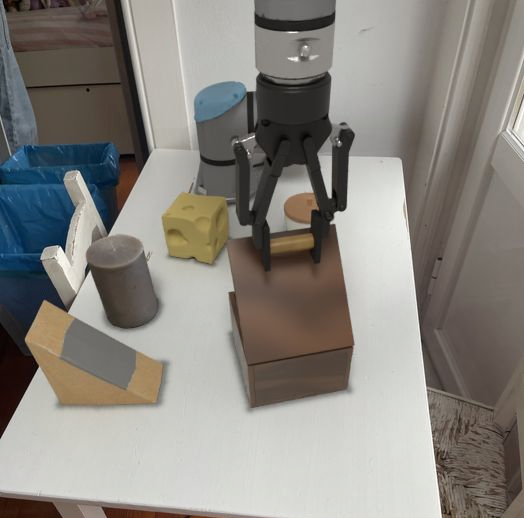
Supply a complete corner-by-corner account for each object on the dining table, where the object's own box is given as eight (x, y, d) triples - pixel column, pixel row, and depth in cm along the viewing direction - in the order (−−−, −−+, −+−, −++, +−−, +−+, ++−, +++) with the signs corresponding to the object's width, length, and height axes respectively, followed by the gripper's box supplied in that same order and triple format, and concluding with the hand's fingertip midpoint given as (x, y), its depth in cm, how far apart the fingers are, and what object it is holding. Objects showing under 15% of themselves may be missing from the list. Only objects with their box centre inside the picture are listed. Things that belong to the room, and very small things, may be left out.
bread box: (232, 334, 86) (228, 291, 79) (317, 319, 88) (320, 276, 81) (250, 408, 75) (247, 366, 68) (347, 389, 77) (353, 347, 70)
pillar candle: (105, 331, 87) (79, 264, 76) (108, 296, 94) (85, 230, 83) (159, 324, 88) (141, 257, 77) (158, 290, 95) (142, 224, 84)
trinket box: (330, 254, 101) (333, 214, 94) (279, 249, 103) (279, 209, 96) (335, 225, 108) (338, 187, 101) (288, 221, 110) (288, 183, 103)
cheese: (213, 265, 100) (207, 223, 92) (166, 256, 102) (157, 214, 95) (231, 237, 106) (227, 196, 99) (186, 230, 109) (180, 189, 102)
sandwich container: (157, 404, 76) (135, 338, 65) (60, 406, 76) (23, 340, 65) (164, 363, 82) (146, 296, 71) (74, 364, 82) (42, 298, 71)
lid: (225, 240, 67) (228, 232, 61) (333, 224, 69) (346, 214, 63) (247, 364, 68) (251, 367, 62) (353, 345, 70) (367, 346, 64)
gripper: (203, 96, 44) (224, 290, 61) (399, 74, 46) (367, 267, 63) (193, 68, 49) (216, 255, 66) (371, 50, 51) (348, 235, 68)
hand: (290, 261), depth 65 cm, fingers closed on lid, 6 cm apart
